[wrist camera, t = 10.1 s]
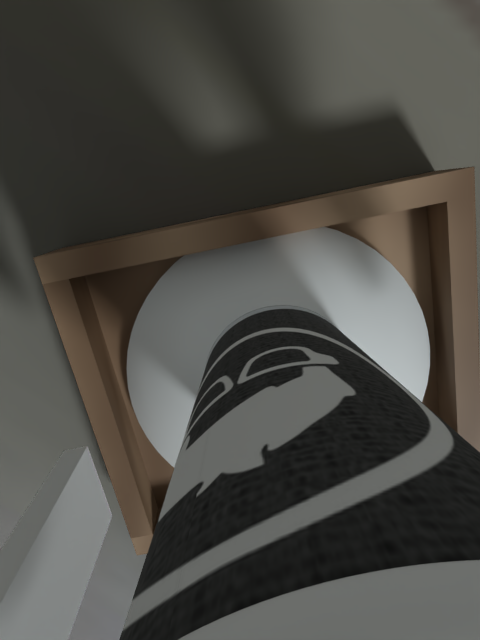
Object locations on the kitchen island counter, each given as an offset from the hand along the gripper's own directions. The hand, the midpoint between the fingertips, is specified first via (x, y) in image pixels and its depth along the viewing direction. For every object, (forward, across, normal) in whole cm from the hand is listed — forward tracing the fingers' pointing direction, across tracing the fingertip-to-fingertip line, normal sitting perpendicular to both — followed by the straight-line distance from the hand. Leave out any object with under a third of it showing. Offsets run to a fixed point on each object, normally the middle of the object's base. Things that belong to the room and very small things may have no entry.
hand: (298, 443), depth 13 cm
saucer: (+6, 0, 0) cm, 6 cm away
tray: (+7, 0, 0) cm, 7 cm away
